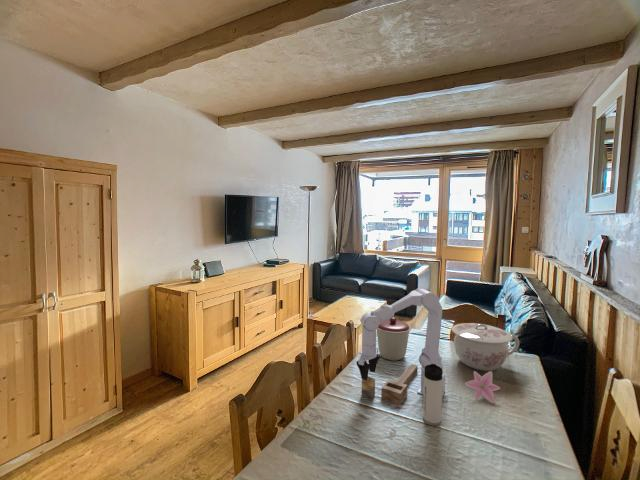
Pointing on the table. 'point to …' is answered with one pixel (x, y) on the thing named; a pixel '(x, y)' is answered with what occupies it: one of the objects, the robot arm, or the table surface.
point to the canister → (393, 339)
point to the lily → (483, 386)
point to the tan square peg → (368, 388)
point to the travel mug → (432, 395)
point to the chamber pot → (482, 345)
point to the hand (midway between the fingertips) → (368, 375)
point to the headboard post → (399, 386)
